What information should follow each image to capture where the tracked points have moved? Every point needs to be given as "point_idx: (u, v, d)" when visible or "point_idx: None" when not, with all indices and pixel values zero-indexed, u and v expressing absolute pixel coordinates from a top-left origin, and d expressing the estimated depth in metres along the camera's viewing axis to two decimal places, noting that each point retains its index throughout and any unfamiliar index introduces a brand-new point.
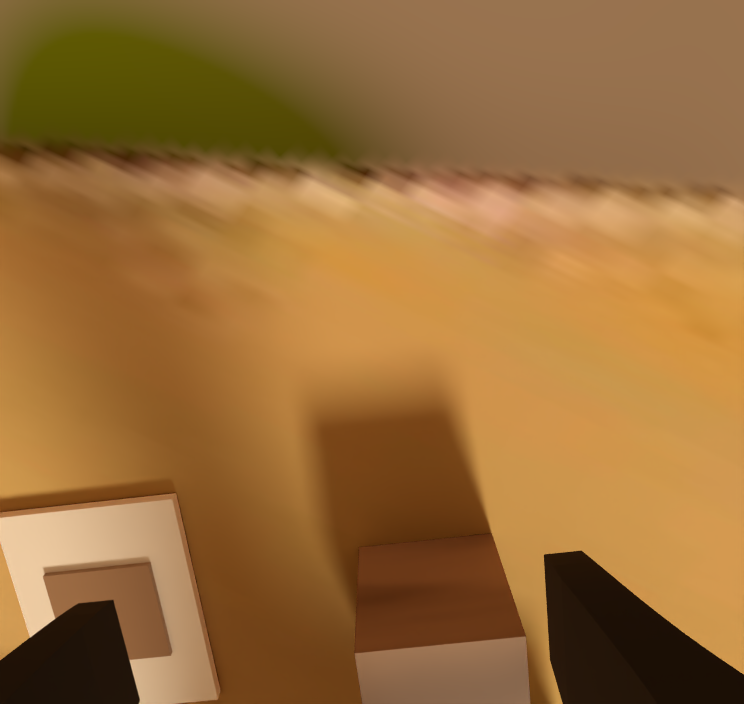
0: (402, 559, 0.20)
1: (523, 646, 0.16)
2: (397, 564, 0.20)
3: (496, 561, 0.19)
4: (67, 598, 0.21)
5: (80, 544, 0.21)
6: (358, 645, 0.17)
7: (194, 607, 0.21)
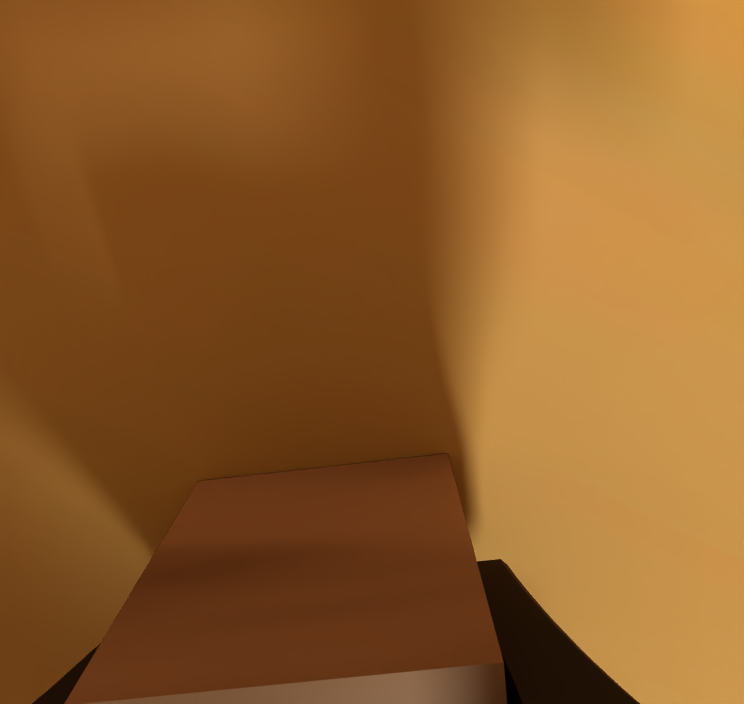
0: (267, 499, 0.10)
1: (497, 688, 0.06)
2: (254, 509, 0.10)
3: (450, 499, 0.09)
4: None
5: None
6: (84, 683, 0.07)
7: None
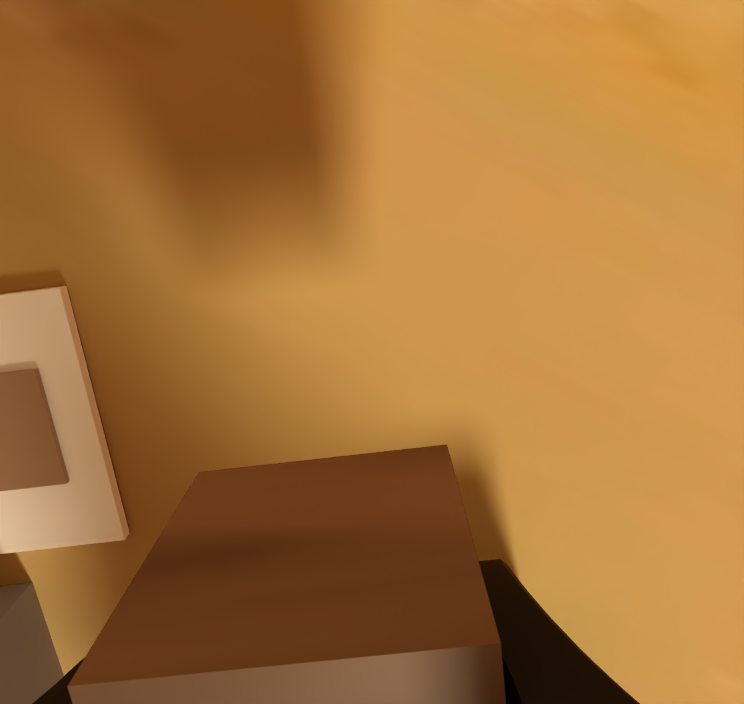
0: (268, 489, 0.10)
1: (495, 669, 0.06)
2: (255, 498, 0.10)
3: (449, 488, 0.10)
4: None
5: None
6: (88, 665, 0.07)
7: (92, 424, 0.18)
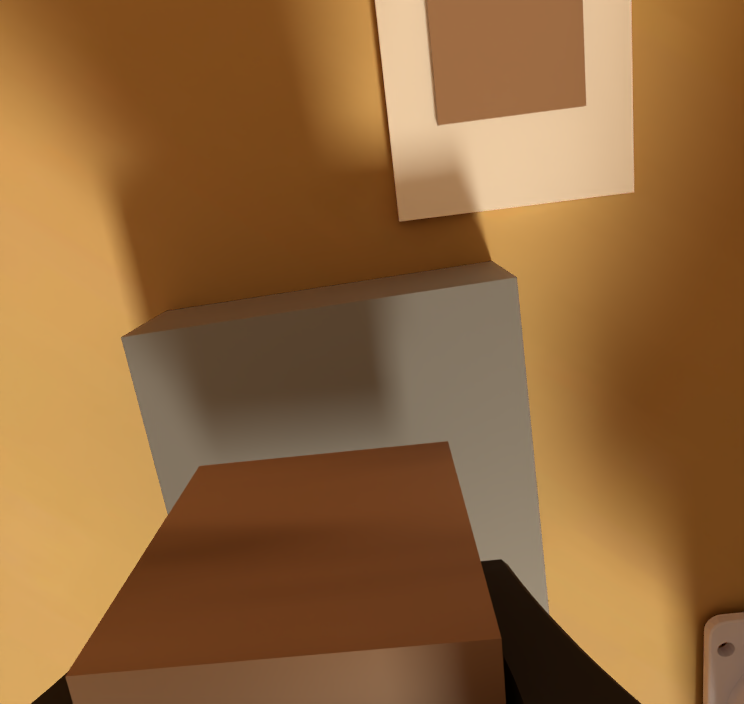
0: (268, 484, 0.10)
1: (495, 664, 0.06)
2: (255, 492, 0.10)
3: (450, 485, 0.10)
4: (454, 0, 0.15)
5: None
6: (86, 656, 0.07)
7: (628, 24, 0.15)
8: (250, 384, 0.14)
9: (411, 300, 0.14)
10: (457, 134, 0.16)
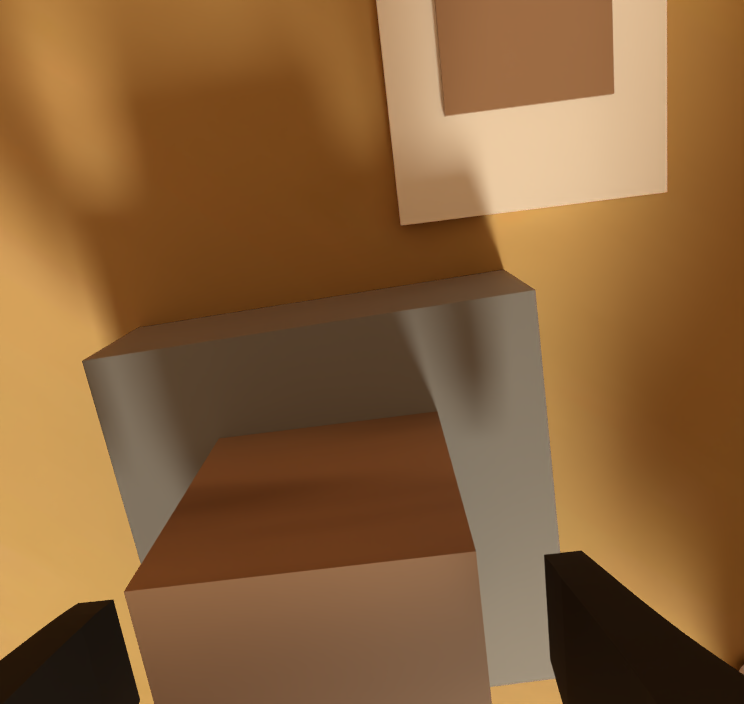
0: (281, 450, 0.12)
1: (471, 573, 0.08)
2: (269, 457, 0.12)
3: (438, 444, 0.11)
4: None
5: None
6: (139, 577, 0.08)
7: (663, 0, 0.13)
8: (230, 414, 0.13)
9: (415, 316, 0.12)
10: (467, 126, 0.14)
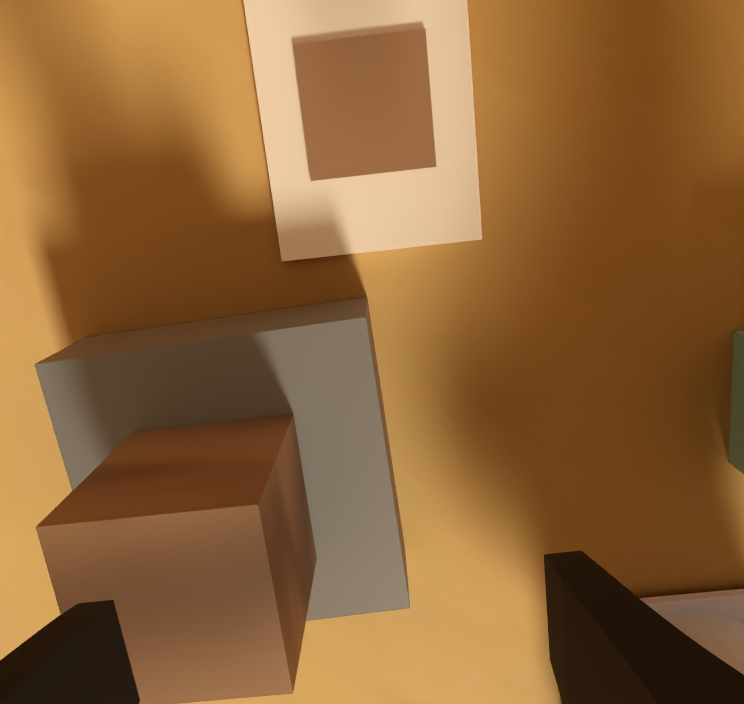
0: (172, 440, 0.16)
1: (255, 518, 0.12)
2: (162, 445, 0.16)
3: (278, 438, 0.15)
4: (320, 77, 0.17)
5: (342, 2, 0.17)
6: (47, 519, 0.13)
7: (471, 99, 0.17)
8: (145, 405, 0.17)
9: (278, 335, 0.17)
10: (328, 188, 0.18)
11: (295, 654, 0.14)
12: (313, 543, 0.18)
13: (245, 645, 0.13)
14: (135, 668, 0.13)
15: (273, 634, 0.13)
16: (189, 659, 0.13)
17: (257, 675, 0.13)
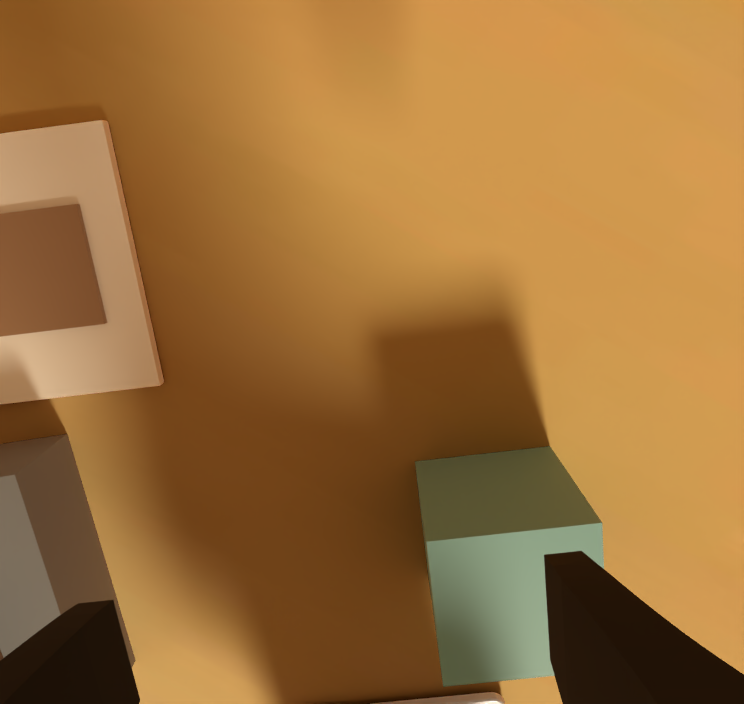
0: None
1: None
2: None
3: None
4: None
5: (0, 181, 0.18)
6: None
7: (130, 263, 0.19)
8: None
9: None
10: (10, 343, 0.19)
11: None
12: None
13: None
14: None
15: None
16: None
17: None
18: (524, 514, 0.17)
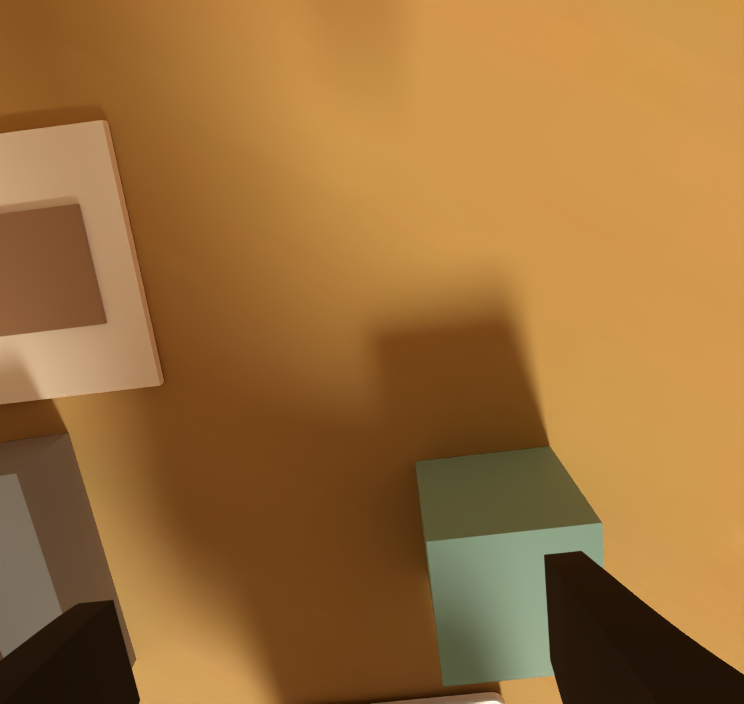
0: None
1: None
2: None
3: None
4: None
5: (0, 181, 0.18)
6: None
7: (130, 263, 0.19)
8: None
9: None
10: (10, 343, 0.19)
11: None
12: None
13: None
14: None
15: None
16: None
17: None
18: (524, 514, 0.17)
